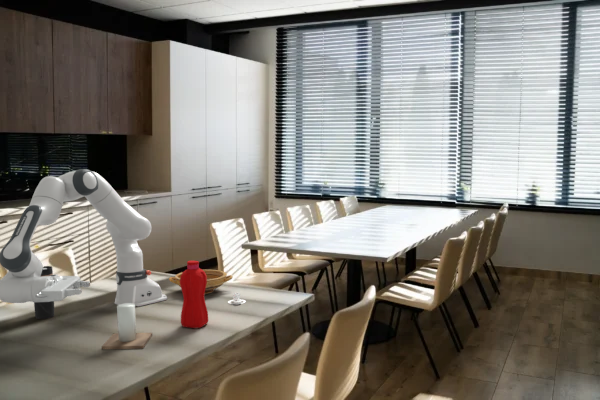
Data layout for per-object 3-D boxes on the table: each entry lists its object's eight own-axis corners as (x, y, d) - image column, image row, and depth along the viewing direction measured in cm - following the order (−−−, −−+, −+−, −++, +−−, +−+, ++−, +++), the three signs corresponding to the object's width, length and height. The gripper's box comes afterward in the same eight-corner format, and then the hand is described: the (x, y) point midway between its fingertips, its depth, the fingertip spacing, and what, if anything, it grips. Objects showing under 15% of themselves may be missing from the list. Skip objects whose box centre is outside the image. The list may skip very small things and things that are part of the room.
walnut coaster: (101, 349, 200) (101, 346, 200) (113, 336, 214) (113, 333, 214) (143, 348, 201) (143, 345, 201) (152, 335, 215) (152, 332, 215)
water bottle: (213, 321, 231) (211, 258, 228) (199, 329, 220) (197, 263, 218) (192, 319, 234) (190, 257, 231) (177, 327, 223) (175, 262, 221)
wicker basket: (166, 299, 265) (165, 281, 265) (172, 286, 290) (172, 270, 289) (232, 296, 268) (232, 279, 267) (233, 284, 292) (233, 268, 291)
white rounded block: (132, 335, 212) (131, 302, 211) (138, 339, 207) (137, 305, 206) (116, 338, 209) (114, 305, 208) (121, 342, 204) (120, 308, 203)
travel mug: (47, 319, 236) (44, 270, 234) (30, 318, 238) (27, 269, 236) (59, 314, 243) (56, 266, 242) (42, 313, 245) (39, 265, 243)
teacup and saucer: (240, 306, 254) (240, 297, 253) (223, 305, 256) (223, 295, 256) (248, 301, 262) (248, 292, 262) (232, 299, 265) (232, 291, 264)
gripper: (32, 288, 195) (74, 286, 195) (55, 273, 215) (93, 271, 216) (33, 306, 196) (75, 305, 196) (56, 290, 216) (94, 288, 216)
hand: (85, 287), depth 206 cm, fingers open, 8 cm apart
